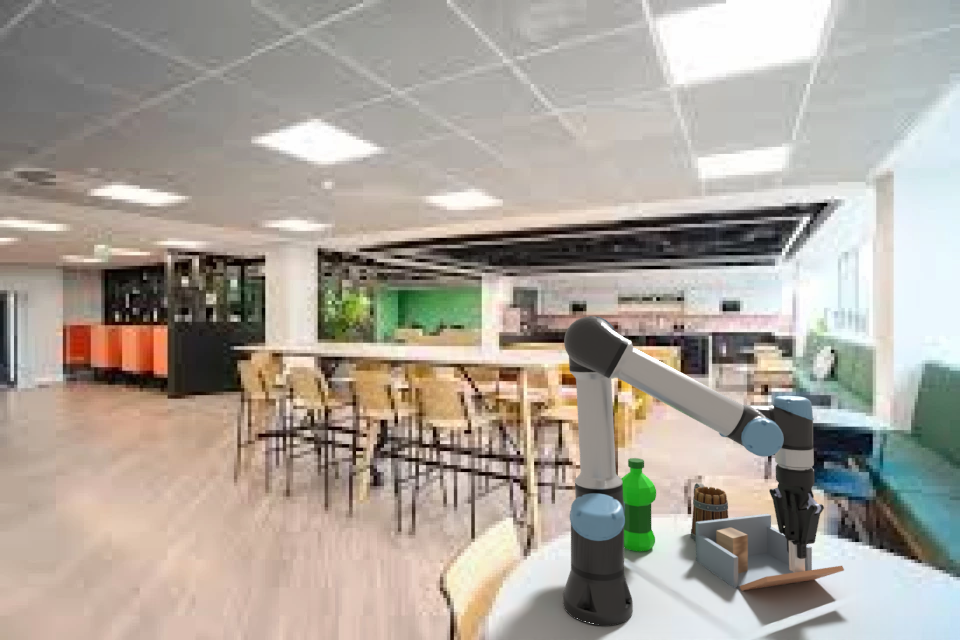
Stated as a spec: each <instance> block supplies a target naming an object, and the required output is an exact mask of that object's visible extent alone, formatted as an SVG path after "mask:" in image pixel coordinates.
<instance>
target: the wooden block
mask: <svg viewBox="0 0 960 640" xmlns="http://www.w3.org/2000/svg"><path fill="white" fill-rule="evenodd" d="M716 544H718V545H720V546H721V547H723V548H724V549H726V550H728V551H729V552H731V553H732V554H734V555H736V556H737V557H738V574H739V573H742V572H746V571H748V535H747V534H745V533H743V532H740V531H738V530H736V529H734V528H731V527H730V528H726V529H721V530H717V531H716Z"/></svg>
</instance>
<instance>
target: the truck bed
mask: <svg viewBox="0 0 960 640" xmlns="http://www.w3.org/2000/svg"><path fill="white" fill-rule="evenodd" d="M730 527H731V528H734V529H736V530H738V531H740V532H743V533H745V534H747V535H748V571H746V572H742V573H739V574H738V557H737V556H736V555H734V554H732V553H731V552H729V551H728V550H726V549H724V548H723V547H721V546H720V545H718V544H716V531H717V530H721V529H726V528H730ZM812 550H813V547H812V546H810V544H807V545H806V551H807V557H806V558H805V571H809V570H813V564H812V563H813V555H812V554H813V551H812ZM695 561H696V562H697V563H699V564H700V565H701V566H702V567H704V568H705V569H707V570H708V571H709V572H711V573H712V574H714V575H715V576H717V577H718V578H719V579H721V580H722V581H723V582H725V583H727V584H728V585H729V586H730V587H732V588H733V589H735V588H737V587H738V586H741V585H744V584H747V583H750V582H752V581H755V580H758V579H761V578H764V577H768V576H775V575H782V574H788V573H795V572H793V571H791V570H789V553H788V551H787V539H786V538H785V535H784V534H783V533H782V534H781V533H780V532H779V529H778V528H775V527H772V514H769V513H761V514H754V515H745V516H735V517H728V518H726V519H717V520H708V521H699V522H696V542H695Z"/></svg>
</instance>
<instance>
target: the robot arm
mask: <svg viewBox="0 0 960 640" xmlns="http://www.w3.org/2000/svg"><path fill="white" fill-rule="evenodd" d="M563 341H564V342H563V343H564V344H563V345H564V349H565V352H566V354H567V355H568V366H569V367H568V369H569V373H570V374H572V375H573V377H574V378H575V382H576V383H575V384H576V403H577V404H576V405H577V423H578V425H577V426H578V427H577V428H578V444H579V446H578V447H579V450H578V451H579V467H580V471H579V472H580V474H578V476H577V477H575V479H574V491H575V492H574V493H575V496H574V497H575V499H573V501H572V503H571V506H570V512H569V521H570V571H569V574H568V578H567V580H566V583H565V587H564V589H563V593H562V598H563V599H562V601H563V604H564V605H563V608H564V607H565V608H564V609H566V610H567V611H568V612H569V613H570V614H571V615H572V616H573V617H572V616H571V615H570V614H569V613H568V612H567V611H566V610H565V611H566V612H567V613H568V614H569V615H570V616H571V617H572V618H574V617H575V618H574V619H576V618H578V619H580V620H582V621H586V622H590V623H594V624H599V625H598V626H601V625H609V626H616V625H620V624H622V623H625V622H627V621H628V620H629V619H630V618H631V617H632V615H633V613H634V612H633V611H634V610H633V609H634V608H633V607H634V606H633V604H634V603H633V602H634V601H633V597H632V595H631V592H630V589H629V588H630V587H629V584H628V583H627V578H626V576H625V548H624V524H625V516H624V514H625V503H624V500H623V482H622V479H621V478H622V477H620V476H619V474H617V472H616V471H617V469H616V450H615V427H614V408H613V387H612V382H613V381H612V379H619V380H620V381H622V382H624V383H626V384H629V385H630V386H631V387H633V388H635V389H637V390H640V391H641V392H643V393H645V394H647V395H648V396H651V397H652V398H654V399H656V400H658V401H659V402H661V403H662V404H665V405H667V406H669V407H671V408H673V409H675V410H676V411H678V412H680V413H682V414H684V415H686V416H687V417H689V418H692V419H693V420H695V421H697V422H699V423H700V424H703V425H705V426H706V427H708V428H710V429H712V430H714V431H716V432H717V433H718V434H719V436H720V437H722V438H728V439H730V440H731V441H733V442H735V443H737V444H739V445H740V446H743V447H744V448H745V449H746V450H747V451H748V452H750V453H752V454H753V455H755V456H758V457H764V458H767V457H771V456H774V462H775V464H776V465H775V466H774V467H775V480H776V481H777V482H778V483H777V487H775V488H770V489H769V494H770V496H771V498H772V503H773V507H774V514H775V518H776V522H777V523H776V524H777V530H779V532H780V533H781V534H782V533H783V534H784V535H785V538H786V539H787V551H788V553H789V570H791V571H793V572H802V571H805V558H806V557H807V551H806V545H810V544H811V545H812V544H815V542H816V539H817V533H818V529H819V528H818V527H819V522H820V518H821V514H822V512H823V511H824V509H825V507H824V505H823V504H822V503H818V502H817V501H816V500H815V497H814V493H813V489H812V488H813V486H814V485H815V469H814V468H813V466H814V464H815V460H814V459H815V458H814V454H815V453H814V417H813V416H814V415H813V414H814V413H813V405H812V404H813V403H812V401H811V400H810V399H808V398H807V397H804V396H797V395H778V396H776V397H774V399H773V403H772V404H769V405H755V404H754V405H753V404H752V405H748V404H742V403H740V402H738V401H736V400H734V399H732V398H730V397H728V396H727V395H725V394H722V393H721V392H718V391H717V390H715V389H713V388H711V387H710V386H708V385H706V384H704V383H702V382H700V381H697V380H696V379H694V378H692V377H690V376H688V375H686V374H685V373H683V372H681V371H680V370H679V371H678V370H677V369H675V368H673V367H671V366H669V365H667V364H665V363H664V362H662V361H659V360H658V359H656V358H654V357H652V356H650V355H648V354H646V353H645V352H643V351H641V350H639V349H637V348H635V347H634V345H633V342H632V340H631V339H628V338H626V337H624V336H623V335H621V334H620V333H618V332H616V330H615V328H614V327H613V325H612V324H611V323H610V322H609V321H608V320H607V319H605V318H602V317H601V316H593V315H590V316H584V317H581V318H579V319H577V320H574V321H573V322H572V323H571V324H570V325H569V326H568V328H567V330H566V332H565V335H564V340H563ZM578 619H577V620H578ZM580 620H579V621H580ZM582 621H581V622H582ZM615 624H616V625H615Z"/></svg>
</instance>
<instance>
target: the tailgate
mask: <svg viewBox="0 0 960 640" xmlns="http://www.w3.org/2000/svg"><path fill="white" fill-rule="evenodd" d="M844 571H845V568H844V566H843V565H836V566H830V567H823V568H817V569H812V570H809V571H802V572H795V573H788V574H782V575H775V576H768V577H764V578H761V579H758V580H755V581H752V582H750V583H747V584H744V585H741V586H738V587H736V588H737V589H738V590H740V591H742V592H743V591H747V590H748V591H749V590H755V589H761V588H768V587H769V588H770V587H776V586H781V585H783V586H784V585H788V584H795V583H802V582H808V581H809V582H810V581H815V580H818V579H820V578H825V577H827V576H830V575H831V576H832V575H834V574H838V573H841V572H844Z"/></svg>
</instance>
